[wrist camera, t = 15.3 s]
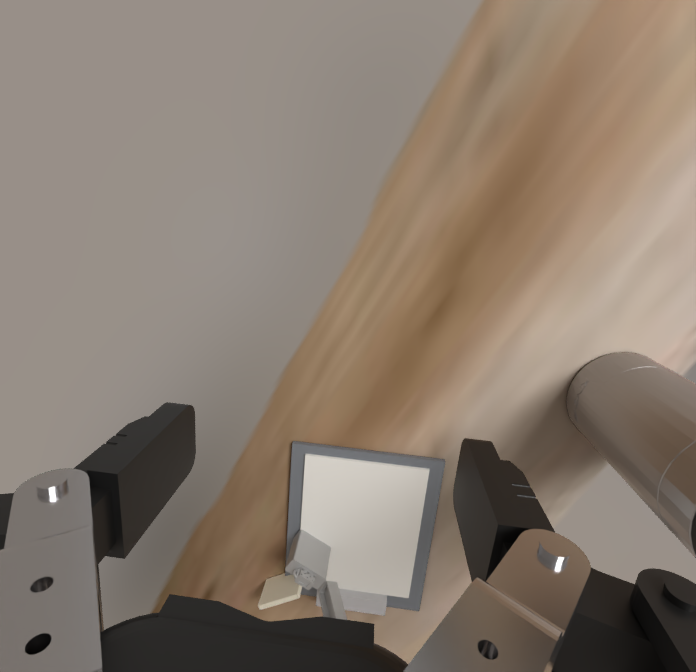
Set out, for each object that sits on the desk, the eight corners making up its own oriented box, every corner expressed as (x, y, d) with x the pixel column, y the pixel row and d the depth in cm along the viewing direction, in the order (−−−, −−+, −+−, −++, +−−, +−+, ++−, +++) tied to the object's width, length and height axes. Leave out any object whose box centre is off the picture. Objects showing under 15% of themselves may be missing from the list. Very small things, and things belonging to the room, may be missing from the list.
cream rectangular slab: (303, 567, 49) (297, 593, 46) (305, 571, 49) (299, 597, 46) (266, 579, 50) (257, 606, 46) (268, 582, 50) (260, 610, 47)
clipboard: (444, 459, 44) (446, 468, 42) (418, 607, 49) (419, 620, 48) (293, 440, 44) (289, 449, 43) (285, 588, 50) (281, 600, 48)
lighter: (292, 538, 47) (275, 601, 39) (301, 528, 46) (284, 590, 39) (344, 570, 48) (337, 639, 40) (353, 561, 47) (347, 628, 39)
